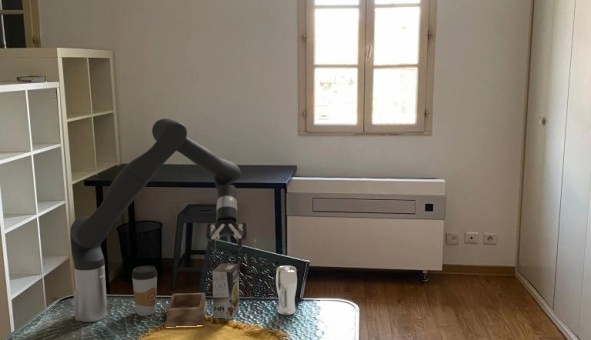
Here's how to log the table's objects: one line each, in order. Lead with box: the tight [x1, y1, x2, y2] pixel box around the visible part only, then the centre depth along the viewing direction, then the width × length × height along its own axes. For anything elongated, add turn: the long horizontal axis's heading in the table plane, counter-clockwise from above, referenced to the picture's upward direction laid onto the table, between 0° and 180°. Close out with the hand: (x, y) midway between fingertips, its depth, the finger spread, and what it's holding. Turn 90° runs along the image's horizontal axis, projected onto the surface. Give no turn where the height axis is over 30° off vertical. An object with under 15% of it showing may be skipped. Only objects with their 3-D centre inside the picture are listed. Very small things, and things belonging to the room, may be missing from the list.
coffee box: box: [212, 263, 240, 320], centre depth 182 cm, size 9×6×16 cm
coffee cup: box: [131, 265, 158, 317], centre depth 184 cm, size 8×8×15 cm
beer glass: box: [275, 265, 298, 316], centre depth 184 cm, size 7×7×15 cm
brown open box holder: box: [163, 292, 208, 328], centre depth 182 cm, size 12×20×5 cm, turn 5°
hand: (226, 250), depth 192 cm, fingers open, 8 cm apart
